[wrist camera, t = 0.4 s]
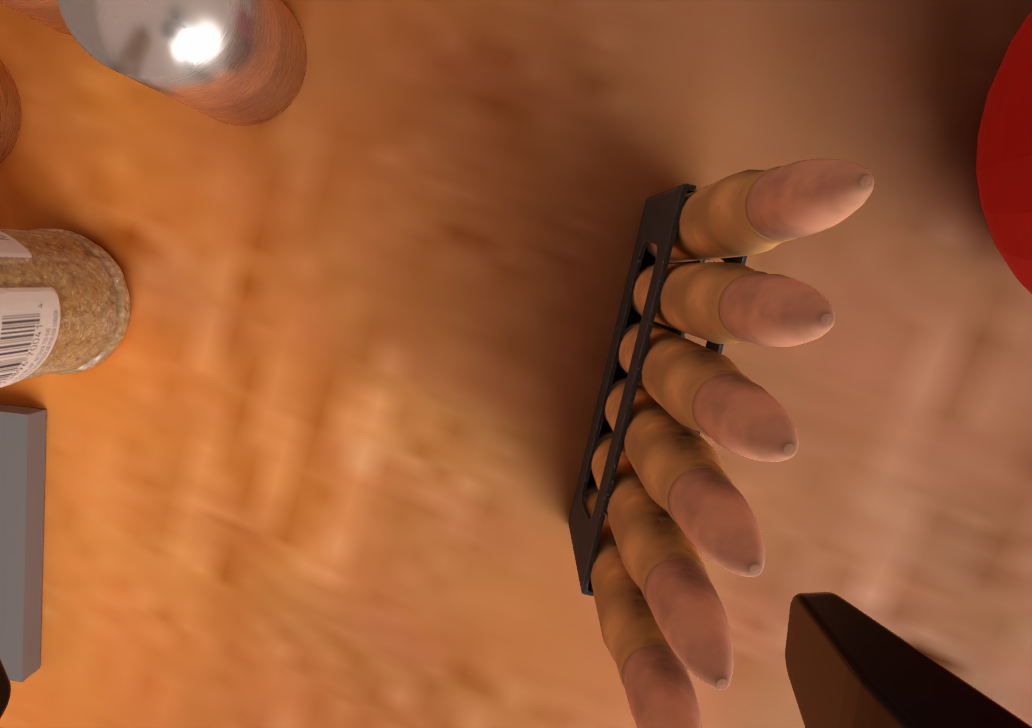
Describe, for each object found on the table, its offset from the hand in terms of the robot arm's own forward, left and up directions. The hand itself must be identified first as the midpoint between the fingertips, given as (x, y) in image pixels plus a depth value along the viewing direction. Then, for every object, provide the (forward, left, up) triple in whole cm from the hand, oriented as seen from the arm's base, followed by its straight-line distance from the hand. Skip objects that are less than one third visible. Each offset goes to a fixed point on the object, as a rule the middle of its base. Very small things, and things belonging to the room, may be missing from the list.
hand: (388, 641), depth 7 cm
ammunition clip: (+2, -5, -14) cm, 15 cm away
